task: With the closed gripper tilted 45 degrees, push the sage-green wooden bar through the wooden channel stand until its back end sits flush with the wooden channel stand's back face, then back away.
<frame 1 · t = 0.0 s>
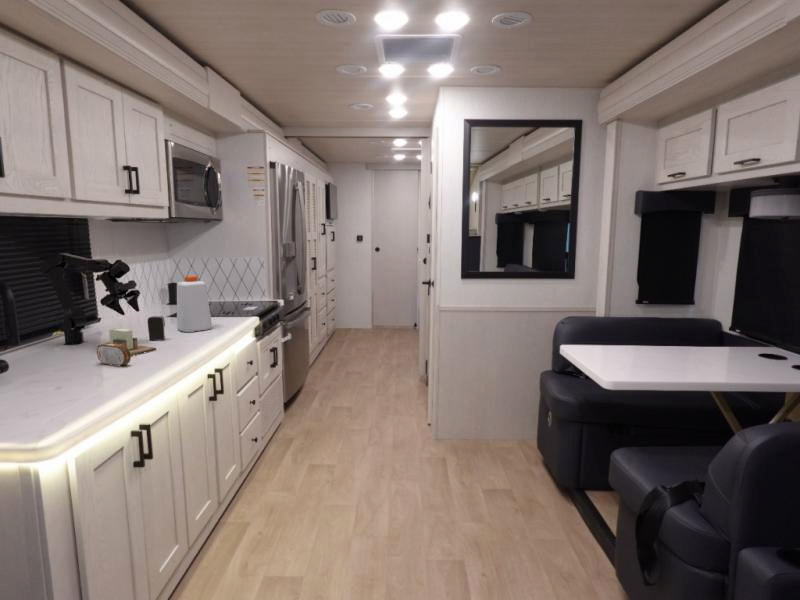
hand: (131, 313, 217), 15 cm above the counter, tool tilted 35°, fingers open, 9 cm apart
wooden channel stand: (126, 351, 208), on the counter
plastic bottle: (194, 329, 254), on the counter
bar: (121, 338, 208), point 5 cm above the counter, slide at 0.0 cm
tin: (114, 365, 188), on the counter
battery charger: (157, 340, 230), on the counter
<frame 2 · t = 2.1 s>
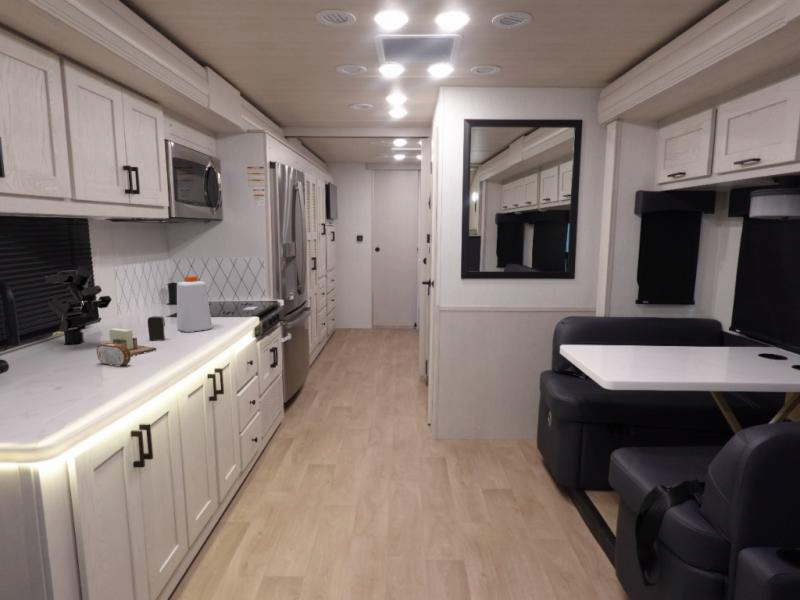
hand: (97, 318, 214), 13 cm above the counter, tool tilted 45°, fingers closed
nothing on the counter moved.
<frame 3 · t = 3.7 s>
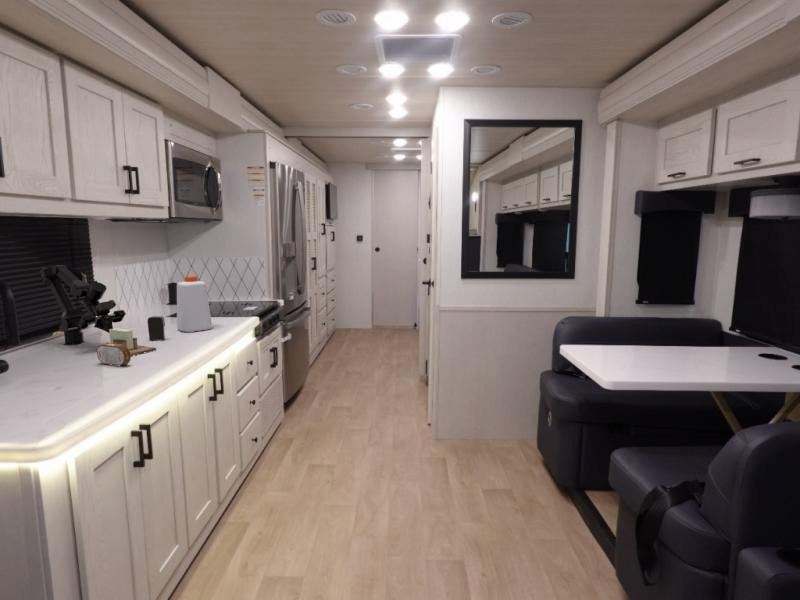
hand: (112, 333, 211), 7 cm above the counter, tool tilted 45°, fingers closed, pressing on bar
bar: (121, 338, 208), point 5 cm above the counter, slide at 0.1 cm, touching gripper
everything else where it was.
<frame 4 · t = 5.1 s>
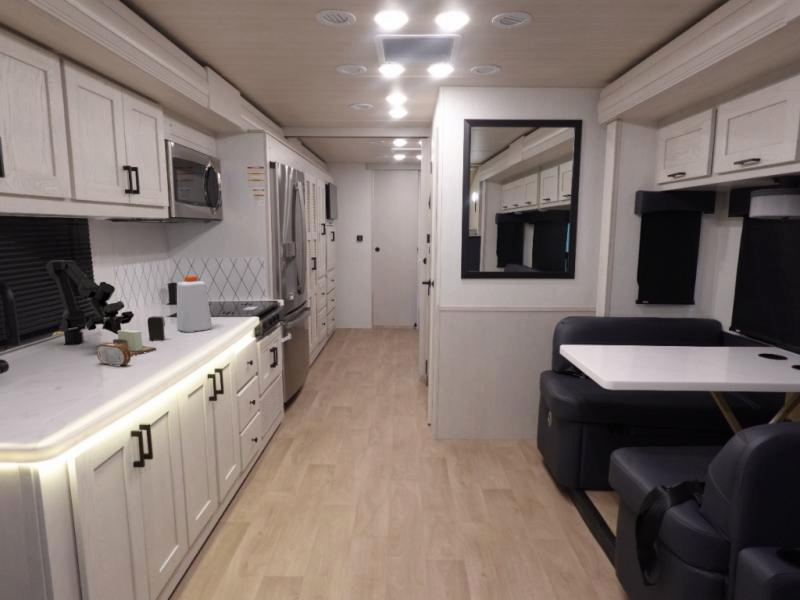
hand: (120, 334, 208), 7 cm above the counter, tool tilted 45°, fingers closed
bar: (129, 340, 206), point 5 cm above the counter, slide at 5.7 cm
everything else where it was.
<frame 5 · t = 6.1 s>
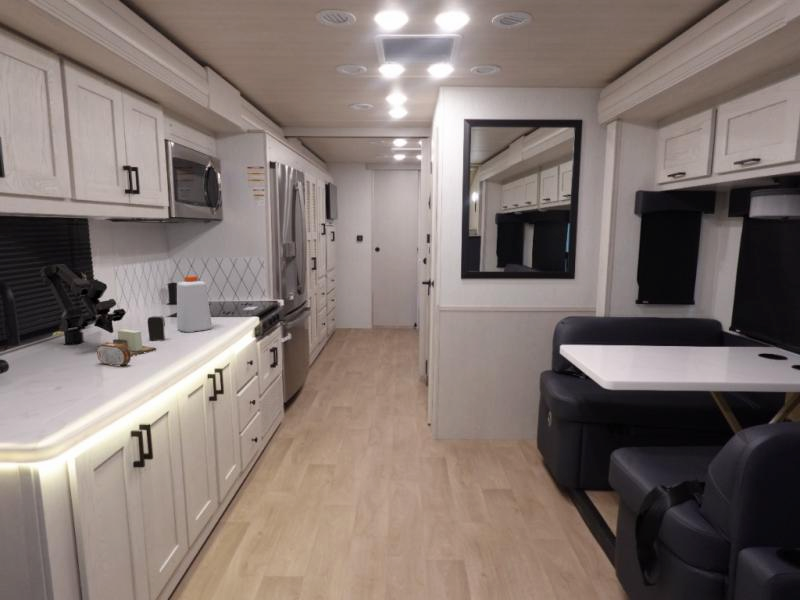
hand: (112, 332, 211), 8 cm above the counter, tool tilted 45°, fingers closed
nothing on the counter moved.
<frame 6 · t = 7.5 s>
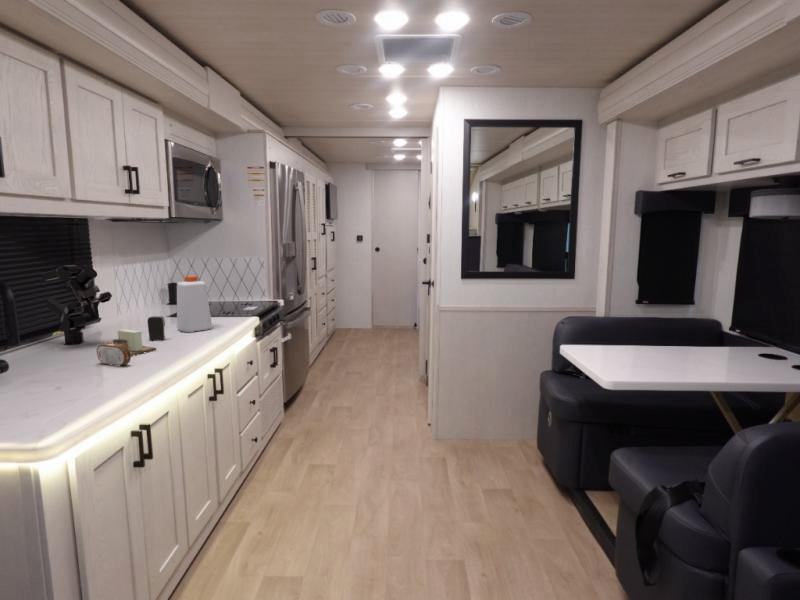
hand: (98, 318, 218), 12 cm above the counter, tool tilted 35°, fingers closed
nothing on the counter moved.
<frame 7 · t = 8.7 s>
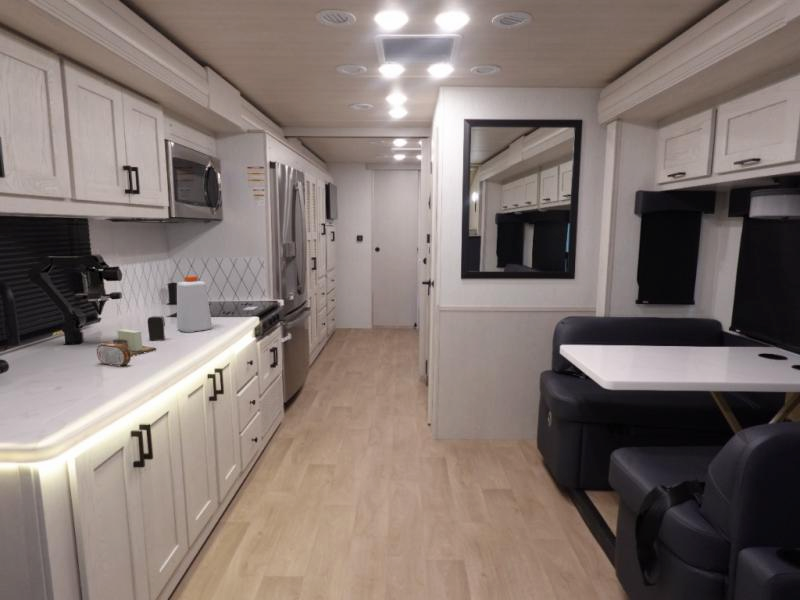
hand: (99, 314, 224), 13 cm above the counter, tool pointing down, fingers closed
nothing on the counter moved.
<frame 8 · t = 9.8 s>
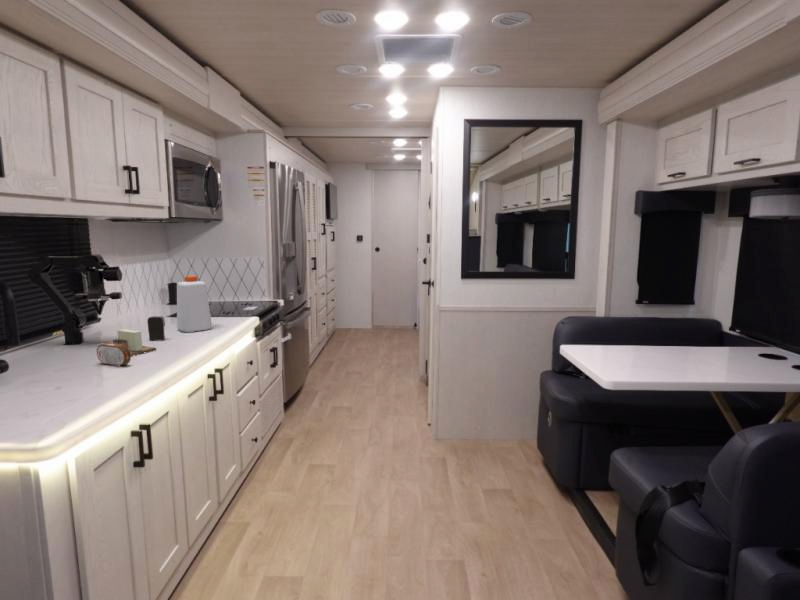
hand: (99, 314, 224), 13 cm above the counter, tool pointing down, fingers closed
nothing on the counter moved.
at the end: bar slide at 5.7 cm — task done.
